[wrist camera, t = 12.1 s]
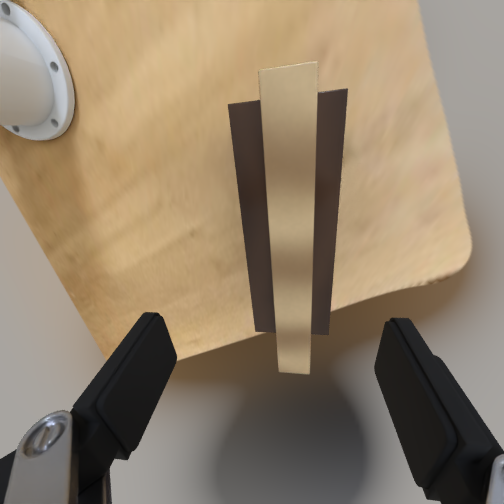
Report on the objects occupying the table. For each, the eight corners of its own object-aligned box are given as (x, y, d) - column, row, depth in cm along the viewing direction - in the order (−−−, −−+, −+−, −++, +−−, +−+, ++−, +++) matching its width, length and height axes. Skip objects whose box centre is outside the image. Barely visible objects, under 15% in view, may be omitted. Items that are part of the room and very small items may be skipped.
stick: (307, 341, 26) (309, 374, 22) (280, 340, 26) (278, 372, 23) (312, 76, 15) (318, 59, 11) (265, 83, 15) (257, 69, 12)
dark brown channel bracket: (263, 285, 34) (255, 331, 26) (248, 112, 24) (227, 104, 16) (319, 285, 33) (328, 335, 25) (328, 102, 23) (348, 88, 15)
